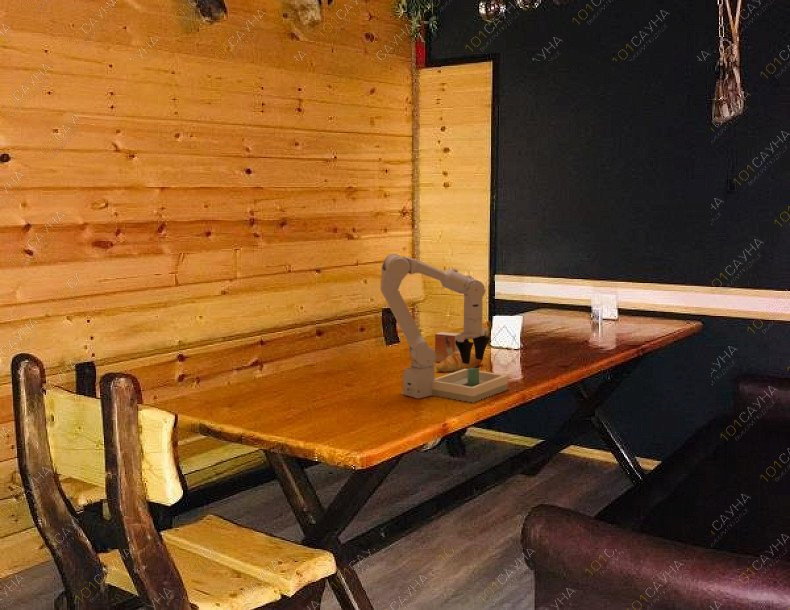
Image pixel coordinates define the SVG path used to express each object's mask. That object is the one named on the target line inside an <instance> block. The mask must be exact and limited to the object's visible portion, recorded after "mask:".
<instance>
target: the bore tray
mask: <svg viewBox="0 0 790 610" xmlns="http://www.w3.org/2000/svg"><path fill="white" fill-rule="evenodd" d="M507 389H508V390H509V375H507V374H501V373H500V374H499V373H495V372H488V371H484V370H482V371H481V370H479V384H478V385H476V386H473V387H470V386H468V369H463V370H460V371H457V372H451V373H447V374H445V375H442V376H439V377H435V380H434V381H432V394H434V395H432V396H433V397H438V396H439V397H440V398H443V397H444V399H448V398H450V400H454V399H456V400H455V401H459V400H461V401H460V402H464V401H467V402H466V403H470V402H472V403H471V404H474V402H475V403H477V402H480V401H481V399H482V400H485V399H487V398H490V397H493V396H495V395H497V393H498V394H500V393H502V392H505V391H507ZM494 394H495V395H494ZM492 395H493V396H492ZM489 396H490V397H489ZM486 397H487V398H486ZM484 398H485V399H484ZM479 400H480V401H479ZM476 401H477V402H476Z"/></svg>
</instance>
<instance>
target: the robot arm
mask: <svg viewBox="0 0 790 610" xmlns="http://www.w3.org/2000/svg"><path fill="white" fill-rule="evenodd" d="M380 270H381V277H380V279H381V280H380V291H381V294H382V295H383V298H384V299H385V301H386V303H387V304H388V306H389V309H390V311H391V312H392V314H393V316H394V318H395V320H396V322H397V324H398V326H399V327H400V328H399V329H401V331H402V333H403V335H404V337H405V339H406V342H407V343H406V344H407V345H408V348H409V356H410V357H411V359H412V361H411V363H410V366H409V367H407V368H406V369H404V371H403V374H402V391H401V394H402V395H403V396H408V397H412V398H415V399H423V398H427V397H431V396H433V395H434V394H432V381H434V380H435V378H436V377H435V373H436V372H435V369H436V366H435V363H436V362H435V360H436V353H435V349H434V348H433V347H431V346H430V345H429V344H428V342H427V341H426V339H425V337H424V336H423V335H422V333H421V331H420V328H419V327H418V325H417V324H416V321H415V319H414V318H413V315H412V314H411V312H410V309H409V308H408V306H407V304H406V302H405V300H404V298H403V296H402V294H401V293H400V290H399V289H400V286H401V283H402V281H403V280H404V279H405V278H406V277H407V275H408V274H409V275H414V274H421V275H424V276H426V277H429V278H432V279H434V280H437V281H439V282H440V284H441V286H442V287H443V288H446V289H448V290H450V291H454V292H456V293H458V294H461V295H463V299H464V300H463V301H464V302H463V331H462V332H461V334H459V335H457V340H456V341H455V344H456V345H457V347H458V349H459V352H460V355H461V359H462V363H465V364H469V362H470V354H471V353H472V349H473V346H474V354H475V357H476V359H480V360H482V359H483V360H484V354H485V352H486V348H487V345H488V344H489V341H490V340H491V337H490V336H488V335H489V329H488V328H483V305H484V304H483V297H484V296H485V294H486V289H485V286H484V284H483V283H482V282H481V280H477V279H475V278H473V277H472V275H469V274H467V275H465V274H463V273H461V272H459V270H458V269H456V268H452V269H451V268H449V269H446V270H441V269H439V268H437V267H434V266H433V265H430V264H427V263H426V262H423V261H421V260H418V259H416V258H412V257H408V256H403V255H402V256H401V255H399V254H397V253H391V254H389V255H388V256H386V257H385V258H384V261H383V263H382V265H381V269H380ZM470 340H472V342H471V341H470ZM483 360H482V361H483Z"/></svg>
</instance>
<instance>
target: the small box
mask: <svg viewBox="0 0 790 610" xmlns="http://www.w3.org/2000/svg"><path fill="white" fill-rule="evenodd" d="M461 333H462V332H461ZM461 333H459V332H446V331H440V332H437V333H435V336H434V351H435V353H436V360H435V362H434V363H441V361H443V360H445V359H446V358H447V357H448V356H450V355H451V354H452V353H453V352H455V351H459V349H458V347H457V345H456V344H455V341H456V340H457V335H459V334H461Z"/></svg>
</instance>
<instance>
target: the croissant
mask: <svg viewBox="0 0 790 610" xmlns="http://www.w3.org/2000/svg"><path fill="white" fill-rule="evenodd" d="M483 361H484V358H483V359H482V360H480V359H476V357H475V353H472V352H471V354H470V362H469V364H465V363H462V359H461V355H460V352H459V351H455V352H453V353H452V354H451V355H450V356H448V357H447V358H446V359H445V360H443V361H441V362H439V364H437V365H436V366H435V369H436V371H437V372H441V373H442V372H443V373H447V372H448V373H449V372H451V373H454V372H457V371H460V370H463V369H468V368H477V367H479V366H480V364H482V362H483Z"/></svg>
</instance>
